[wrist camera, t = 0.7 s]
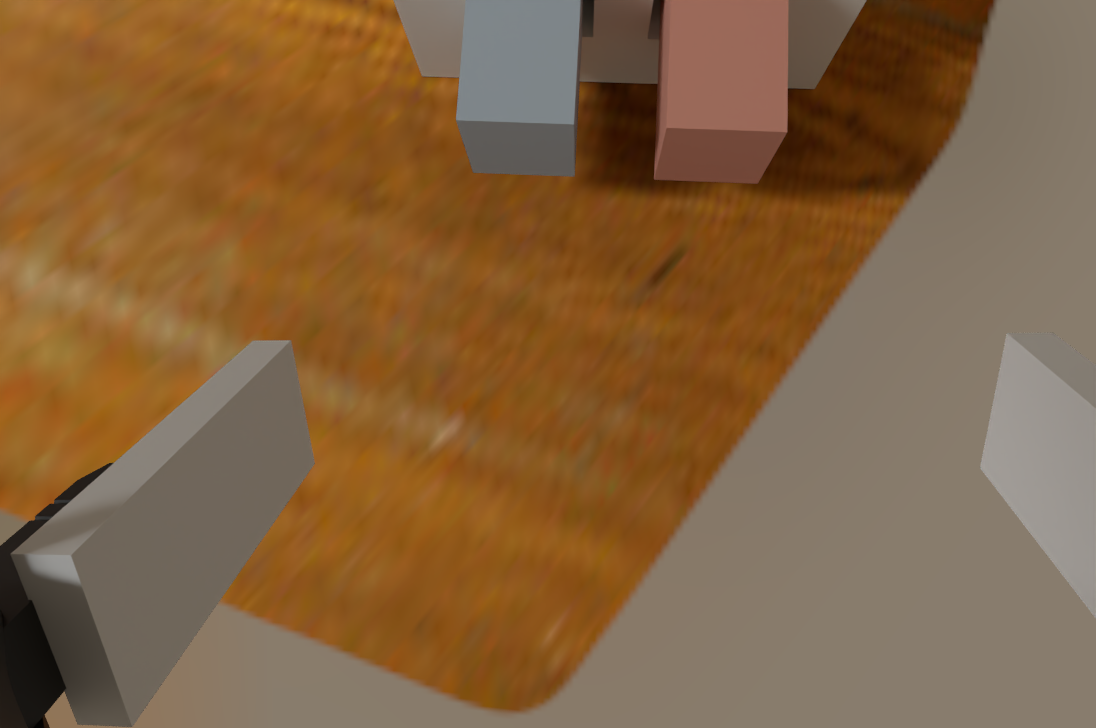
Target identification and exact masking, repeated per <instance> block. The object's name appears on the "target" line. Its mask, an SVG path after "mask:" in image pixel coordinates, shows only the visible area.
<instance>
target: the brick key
mask: <svg viewBox="0 0 1096 728" xmlns="http://www.w3.org/2000/svg"><path fill="white" fill-rule="evenodd" d="M787 120H788V0H661V4H660V31H659V58H658V86H657V113H656V141H655V168H654V180H674V181H701V182H727V183H753V184H758V182H759V180H760V179H761V177H762V175H763V173H764V172H765V170H766V168H767V166H768V165H769V163H770V161H771V160H772V158H773V156H774V154H775V153H776V151H777V149H778V147H779V146H780V144H781V142H782V141H783V139H784V137H785V135H786V134H787Z"/></svg>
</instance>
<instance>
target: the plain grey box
mask: <svg viewBox="0 0 1096 728" xmlns="http://www.w3.org/2000/svg"><path fill="white" fill-rule="evenodd" d="M465 1H466V0H394V3H395V5H396V8H397V11H398V13H399V16H400V19H401V21H402V24H403V27H404V29H405V32H406V35H407V37H408V40H409V43H410V45H411V48H412V51H413V53H414V56H415V59H416V61H417V64H418V67H419V69H420V72H421V75H422V76H426V77H457V78H459V77H460V65H461V52H462V39H463V27H464V14H465ZM865 2H866V0H788V88H797V89H815V88H816V86H817V84H818V83H819V81H820V79H821V77H822V76H823V74H824V72H825V71H826V69H827V67H828V65H829V64H830V62H831V60H832V59H833V57H834V55H835V53H836V52H837V50H838V48H839V47H840V45H841V43H842V42H843V40H844V38H845V36H846V35H847V33H848V31H849V30H850V28H851V26H852V24H853V23H854V21H855V19H856V18H857V16H858V14H859V12H860V11H861V9H862V7H863V6H864V4H865ZM660 4H661V0H584V9H583V28H582V46H581V65H580V81H581V82H611V83H642V84H658V58H659V31H660Z"/></svg>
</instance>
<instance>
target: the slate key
mask: <svg viewBox="0 0 1096 728" xmlns="http://www.w3.org/2000/svg"><path fill="white" fill-rule="evenodd" d="M583 9H584V0H466V1H465V14H464V27H463V39H462V52H461V65H460V77H459V90H458V102H457V115H456V122H457V125H458V128H459V131H460V134H461V137H462V140H463V143H464V146H465V149H466V152H467V155H468V158H469V161H470V164H471V167H472V170H473V173H496V174H523V175H549V176H575V159H576V140H577V122H578V103H579V84H580V65H581V46H582V28H583Z"/></svg>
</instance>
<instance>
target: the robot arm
mask: <svg viewBox="0 0 1096 728" xmlns="http://www.w3.org/2000/svg"><path fill="white" fill-rule="evenodd" d="M314 464H315V462H314V457H313V452H312V447H311V442H310V436H309V431H308V426H307V421H306V416H305V411H304V405H303V400H302V395H301V390H300V385H299V380H298V375H297V369H296V364H295V359H294V354H293V349H292V344H291V340H286V341H252V342H251V343H250V344H249V345H248V346H247V347H245V348H244V349H243V350H242V351H241V352H240V353H239V354H237V355H236V356H235V357H234V358H233V359H232V360H231V361H230V362H228V363H227V364H226V365H225V366H224V367H223V368H222V369H220V370H219V371H218V372H217V373H216V374H215V375H214V376H212V377H211V378H210V379H209V380H208V381H207V382H206V383H204V384H203V385H202V386H201V387H200V388H199V389H198V390H197V391H195V392H194V393H193V394H192V395H191V396H190V397H189V398H187V399H186V400H185V401H184V402H183V403H182V404H181V405H179V406H178V407H177V408H176V409H175V410H174V411H173V412H171V413H170V414H169V415H168V416H167V417H166V418H165V419H164V420H162V421H161V422H160V423H159V424H158V425H157V426H156V427H154V428H153V429H152V430H151V431H150V432H149V433H148V434H146V435H145V436H144V437H143V438H142V439H141V440H140V441H138V442H137V443H136V444H135V445H134V446H133V447H132V448H130V449H129V450H128V451H127V452H126V453H125V454H124V455H123V456H121V457H120V458H119V459H118V460H117V461H116V462H115V463H109V464H107V465H105V466H103V467H101V468H100V469H98V470H96V471H94V472H92V473H90V474H88V475H86V476H85V477H83V478H81V479H79V480H77V481H76V482H75V483H74V484H73V485H71V486H70V487H69V488H68V489H67V490H65V491H64V492H63V493H62V494H61V495H60V496H58V497H57V498H56V499H55V500H54V504H49V505H48V506H47V507H46V508H44V509H43V510H42V511H41V512H40V513H38V514H37V515H36V516H35V520H34V521H29V522H28V523H27V524H26V525H24V526H23V527H22V528H21V529H20V530H19V531H17V532H16V533H15V534H14V535H13V536H12V537H10V538H9V539H8V540H7V541H6V542H5V543H3V544H2V545H1V546H0V728H50V727H49V725H48V722H47V720H46V718H45V713H46V712H47V711H48V710H49V709H50V707H51V706H52V705H53V704H54V703H55V701H56V700H57V699H58V698H59V697H60V695H61V694H62V693H63V692H64V691H65V694H66V696H67V699H68V701H69V704H70V706H71V709H72V711H73V714H74V716H75V719H76V722H77V724H79V725H100V726H122V727H132V726H133V725H134V723H135V722H136V721H137V719H138V718H139V716H140V715H141V713H142V712H143V711H144V709H145V708H146V706H147V705H148V703H149V702H150V700H151V699H152V698H153V696H154V695H155V693H156V692H157V690H158V689H159V687H160V686H161V685H162V683H163V682H164V680H165V679H166V677H167V676H168V675H169V673H170V672H171V670H172V669H173V667H174V666H175V664H176V663H177V661H178V660H179V659H180V657H181V656H182V654H183V653H184V651H185V650H186V649H187V647H188V646H189V644H190V643H191V641H192V640H193V638H194V637H195V636H196V634H197V633H198V631H199V630H200V628H201V627H202V625H203V624H204V623H205V621H206V620H207V618H208V616H209V615H210V614H211V612H212V611H213V609H214V608H215V607H216V605H217V604H218V602H219V601H220V599H221V598H222V597H223V595H224V594H225V592H226V591H227V589H228V588H229V587H230V585H231V584H232V582H233V581H234V579H235V578H236V576H237V575H238V574H239V572H240V571H241V569H242V568H243V566H244V565H245V563H246V562H247V561H248V559H249V558H250V556H251V555H252V553H253V552H254V550H255V549H256V548H257V546H258V545H259V543H260V542H261V540H262V539H263V537H264V536H265V535H266V533H267V532H268V530H269V529H270V527H271V526H272V524H273V523H274V522H275V520H276V519H277V517H278V516H279V514H280V513H281V511H282V510H283V509H284V507H285V506H286V504H287V503H288V501H289V500H290V499H291V497H292V496H293V494H294V493H295V491H296V490H297V488H298V487H299V486H300V484H301V483H302V481H303V480H304V478H305V477H306V475H307V474H308V473H309V471H310V470H311V468H312V467H313V465H314ZM980 468H981V470H982V471H983V472H984V474H985V475H986V476H987V478H988V479H989V480H990V481H991V483H992V484H993V485H994V487H995V488H996V489H997V491H998V492H999V493H1000V494H1001V496H1002V497H1003V498H1004V500H1005V501H1006V502H1007V503H1008V505H1009V506H1010V507H1011V509H1012V510H1013V511H1014V513H1015V514H1016V515H1017V517H1018V518H1019V519H1020V520H1021V522H1022V523H1023V524H1024V526H1025V527H1026V528H1027V530H1028V531H1029V532H1030V533H1031V535H1032V536H1033V537H1034V539H1035V540H1036V541H1037V542H1038V544H1039V545H1040V546H1041V548H1042V549H1043V550H1044V552H1045V553H1046V554H1047V555H1048V557H1049V558H1050V559H1051V561H1052V562H1053V563H1054V564H1055V566H1056V567H1057V568H1058V570H1059V571H1060V572H1061V574H1062V575H1063V576H1064V578H1065V579H1066V580H1067V581H1068V583H1069V584H1070V585H1071V587H1072V588H1073V589H1074V591H1075V592H1076V593H1077V594H1078V596H1079V597H1080V598H1081V600H1082V601H1083V602H1084V604H1085V605H1086V606H1087V607H1088V609H1089V610H1090V611H1091V613H1092V614H1093V615H1094V617H1095V618H1096V365H1095V364H1094V363H1093V362H1091V361H1090V360H1089V359H1087V358H1086V357H1085V356H1083V355H1082V354H1081V353H1079V352H1078V351H1077V350H1075V349H1074V348H1073V347H1071V346H1070V345H1069V344H1067V343H1066V342H1065V341H1063V340H1062V339H1061V338H1059V337H1058V336H1057V335H1056V334H1054V333H1007V335H1006V340H1005V345H1004V350H1003V355H1002V361H1001V365H1000V370H999V375H998V380H997V386H996V391H995V396H994V401H993V405H992V410H991V416H990V420H989V426H988V430H987V436H986V441H985V446H984V451H983V456H982V461H981V466H980Z"/></svg>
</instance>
